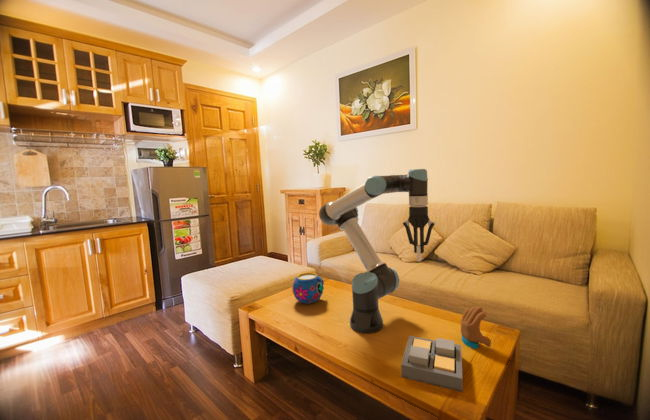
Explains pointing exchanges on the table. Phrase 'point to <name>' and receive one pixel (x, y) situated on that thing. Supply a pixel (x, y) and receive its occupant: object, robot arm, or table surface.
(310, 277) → the ceramic pot
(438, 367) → the ochre button near right
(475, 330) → the toy
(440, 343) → the grey button far right
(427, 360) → the grey button near left
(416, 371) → the button board
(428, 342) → the ochre button far left
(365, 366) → the table surface
